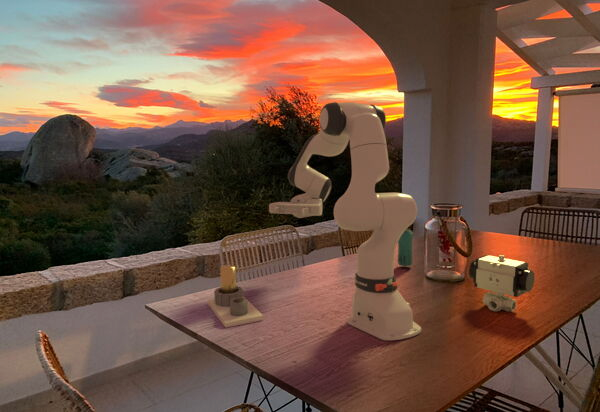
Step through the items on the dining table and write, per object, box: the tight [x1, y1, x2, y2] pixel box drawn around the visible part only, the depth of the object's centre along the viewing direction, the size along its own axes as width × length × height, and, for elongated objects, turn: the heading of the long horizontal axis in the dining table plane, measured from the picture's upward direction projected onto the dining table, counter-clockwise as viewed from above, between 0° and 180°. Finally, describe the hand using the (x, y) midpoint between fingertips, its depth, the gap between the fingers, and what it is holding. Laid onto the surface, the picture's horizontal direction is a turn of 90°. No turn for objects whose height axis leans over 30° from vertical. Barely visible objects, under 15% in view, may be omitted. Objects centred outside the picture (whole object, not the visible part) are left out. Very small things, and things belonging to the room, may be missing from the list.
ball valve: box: [468, 254, 536, 312], centre depth 136 cm, size 18×8×18 cm, turn 40°
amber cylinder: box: [219, 264, 237, 294], centre depth 142 cm, size 5×5×12 cm
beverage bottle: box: [397, 224, 414, 267], centre depth 184 cm, size 6×7×20 cm
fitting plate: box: [207, 285, 264, 328], centre depth 137 cm, size 22×12×6 cm, turn 26°
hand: (288, 211), depth 153 cm, fingers open, 8 cm apart
